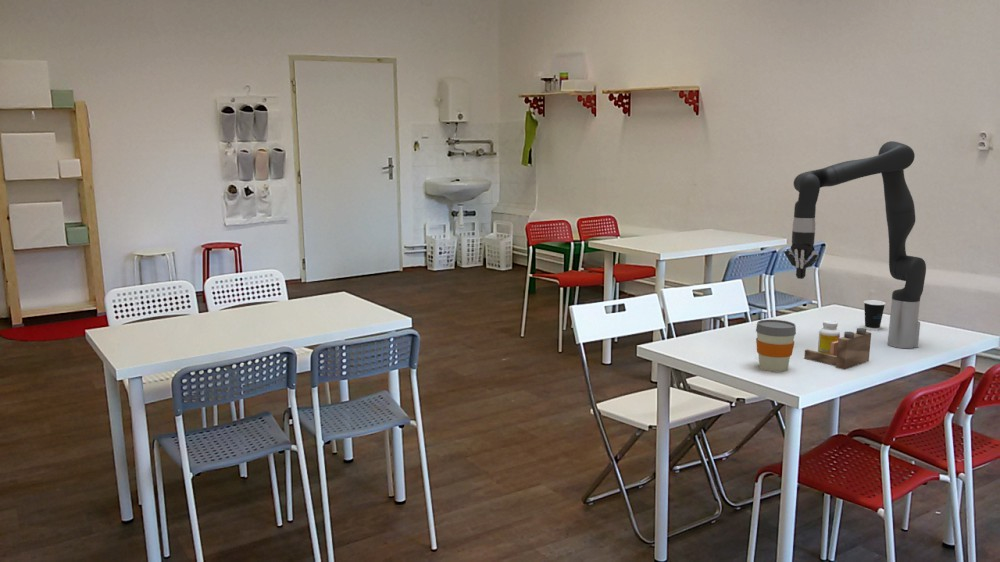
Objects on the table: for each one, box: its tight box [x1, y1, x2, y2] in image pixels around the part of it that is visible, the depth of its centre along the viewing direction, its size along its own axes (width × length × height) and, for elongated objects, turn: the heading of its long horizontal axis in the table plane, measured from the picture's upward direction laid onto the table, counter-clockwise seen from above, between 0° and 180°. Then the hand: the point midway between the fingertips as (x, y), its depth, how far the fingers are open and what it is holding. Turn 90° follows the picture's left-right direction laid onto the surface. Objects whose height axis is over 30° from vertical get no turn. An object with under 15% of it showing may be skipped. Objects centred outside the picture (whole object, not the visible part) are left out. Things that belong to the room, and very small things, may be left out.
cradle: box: [804, 327, 872, 370], centre depth 277 cm, size 16×16×12 cm
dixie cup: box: [863, 299, 886, 332], centre depth 321 cm, size 8×8×11 cm
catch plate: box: [830, 341, 838, 356], centre depth 277 cm, size 1×9×6 cm, turn 129°
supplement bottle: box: [817, 320, 841, 354], centre depth 280 cm, size 7×7×13 cm
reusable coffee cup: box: [755, 319, 797, 372], centre depth 268 cm, size 13×12×15 cm
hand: (800, 278), depth 289 cm, fingers closed
